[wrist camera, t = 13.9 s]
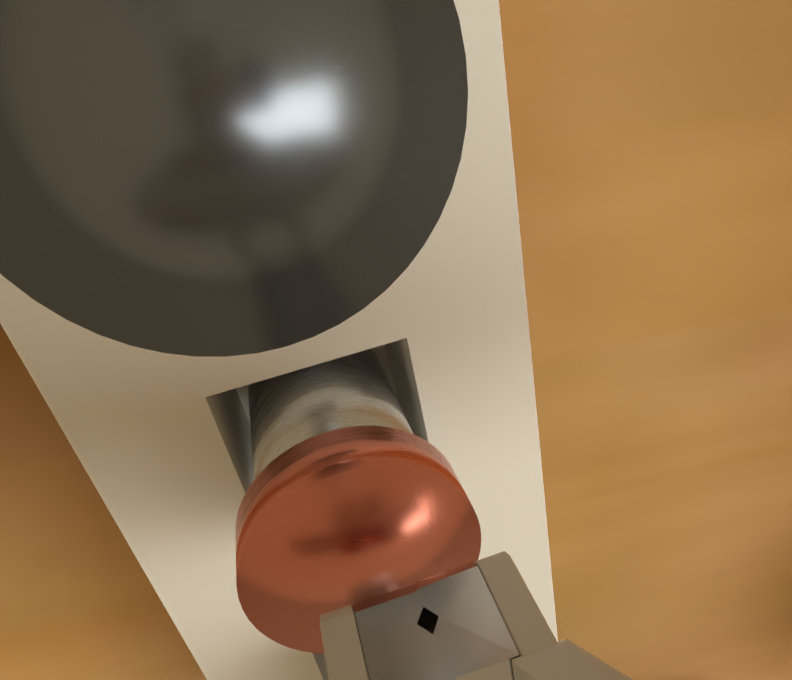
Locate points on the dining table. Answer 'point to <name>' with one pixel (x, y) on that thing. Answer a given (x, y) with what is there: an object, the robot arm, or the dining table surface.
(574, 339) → the dining table surface
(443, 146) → the plug
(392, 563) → the brick-red plug
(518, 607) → the robot arm
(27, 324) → the block
